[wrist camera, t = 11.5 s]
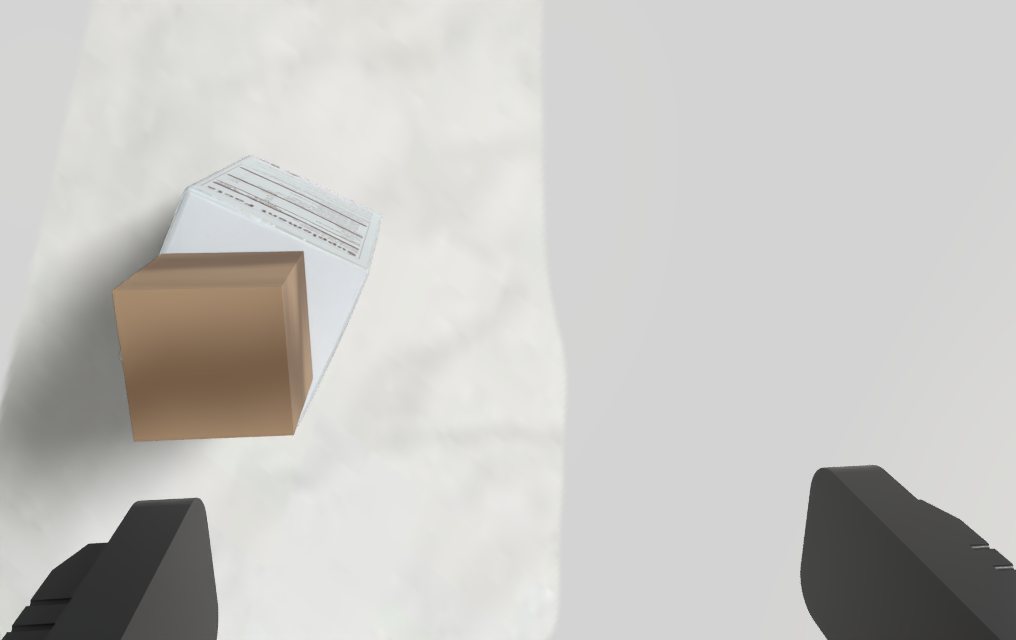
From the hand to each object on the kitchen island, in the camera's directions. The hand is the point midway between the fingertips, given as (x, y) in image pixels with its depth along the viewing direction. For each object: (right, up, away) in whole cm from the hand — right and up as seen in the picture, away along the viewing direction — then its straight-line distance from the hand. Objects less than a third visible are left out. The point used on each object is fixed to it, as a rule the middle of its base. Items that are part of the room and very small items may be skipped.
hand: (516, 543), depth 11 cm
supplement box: (-11, +7, +32) cm, 34 cm away
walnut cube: (-10, +3, +20) cm, 22 cm away
